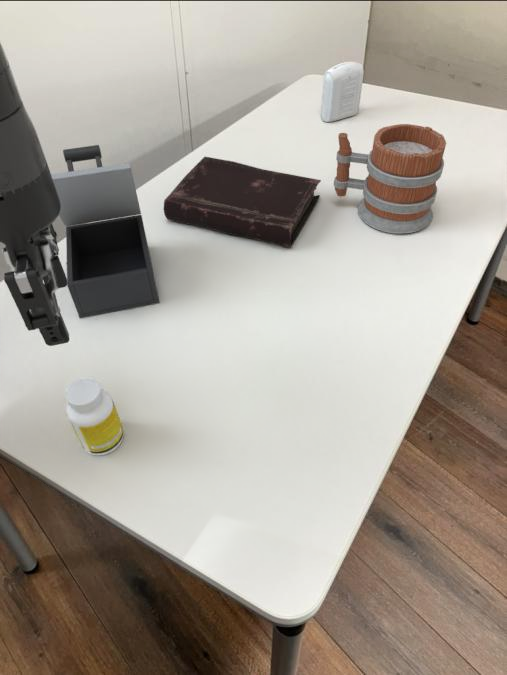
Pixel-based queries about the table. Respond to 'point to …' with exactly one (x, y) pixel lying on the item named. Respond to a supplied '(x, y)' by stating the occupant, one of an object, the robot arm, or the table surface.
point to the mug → (395, 177)
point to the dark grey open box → (109, 266)
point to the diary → (243, 201)
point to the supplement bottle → (93, 416)
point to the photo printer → (341, 91)
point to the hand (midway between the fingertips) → (58, 312)
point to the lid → (94, 189)
